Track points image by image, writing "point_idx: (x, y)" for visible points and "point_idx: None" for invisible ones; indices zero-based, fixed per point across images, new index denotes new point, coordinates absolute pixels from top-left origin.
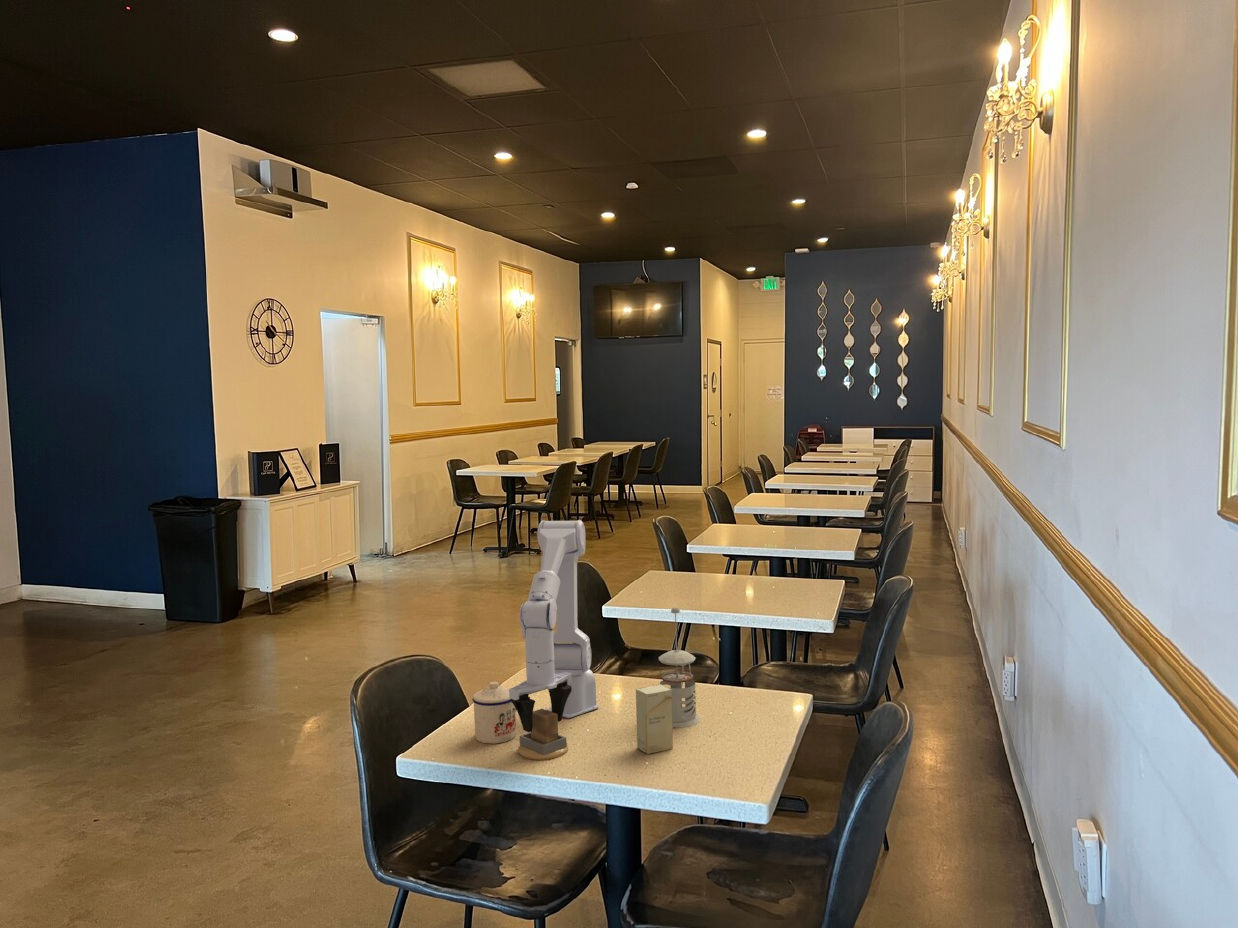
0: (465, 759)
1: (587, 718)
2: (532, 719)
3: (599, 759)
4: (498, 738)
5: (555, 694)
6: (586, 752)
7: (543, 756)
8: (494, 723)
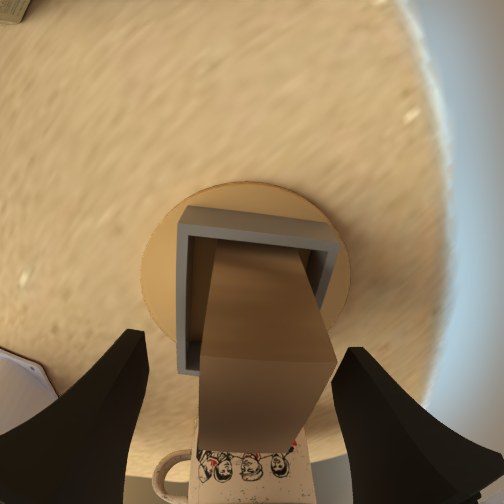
0: (403, 379)
1: (3, 327)
2: (383, 393)
3: (177, 16)
4: None
5: (104, 493)
6: (146, 116)
7: (329, 222)
8: (298, 454)
